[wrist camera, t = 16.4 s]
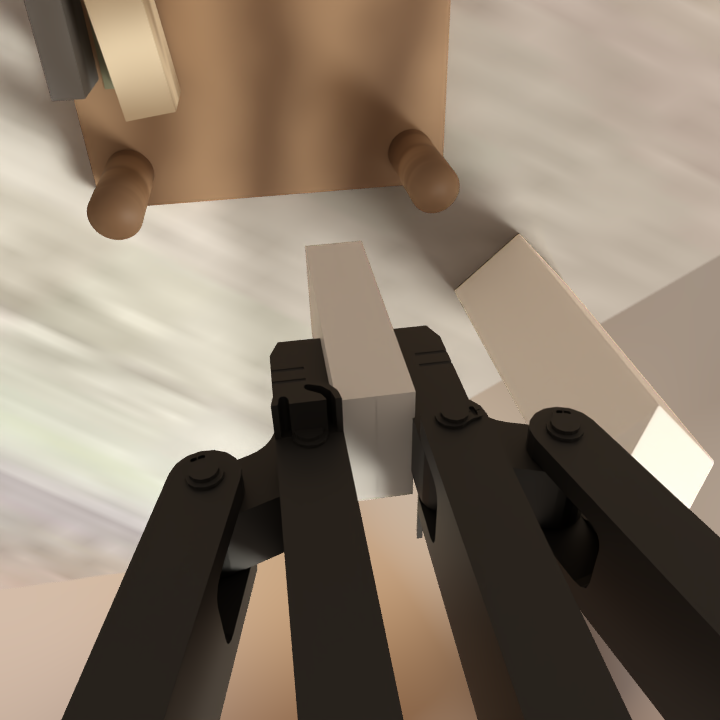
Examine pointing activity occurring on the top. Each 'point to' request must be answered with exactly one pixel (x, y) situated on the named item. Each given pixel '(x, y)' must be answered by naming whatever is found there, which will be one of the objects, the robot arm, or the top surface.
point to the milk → (575, 364)
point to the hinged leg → (136, 56)
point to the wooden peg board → (262, 103)
